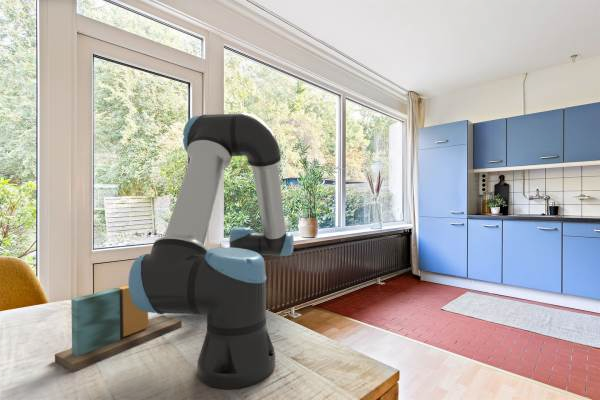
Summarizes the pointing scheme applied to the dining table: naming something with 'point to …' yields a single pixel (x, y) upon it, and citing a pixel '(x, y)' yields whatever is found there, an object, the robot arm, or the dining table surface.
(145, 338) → the ticket stand
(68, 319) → the dining table surface
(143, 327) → the stub
